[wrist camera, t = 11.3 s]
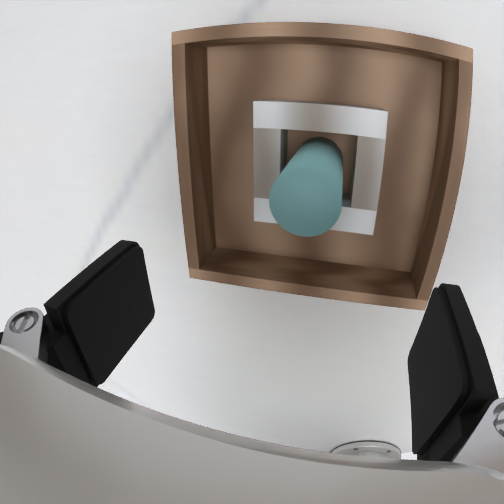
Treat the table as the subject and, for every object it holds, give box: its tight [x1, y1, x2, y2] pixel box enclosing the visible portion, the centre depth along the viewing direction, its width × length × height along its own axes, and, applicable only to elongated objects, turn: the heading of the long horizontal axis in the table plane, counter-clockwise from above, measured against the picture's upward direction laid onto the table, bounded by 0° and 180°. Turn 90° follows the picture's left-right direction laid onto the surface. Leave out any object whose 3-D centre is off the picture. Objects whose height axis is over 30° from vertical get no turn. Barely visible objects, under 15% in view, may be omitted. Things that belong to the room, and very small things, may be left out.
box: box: [172, 22, 473, 310], centre depth 23 cm, size 20×20×5 cm
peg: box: [269, 137, 343, 237], centre depth 20 cm, size 4×4×10 cm
